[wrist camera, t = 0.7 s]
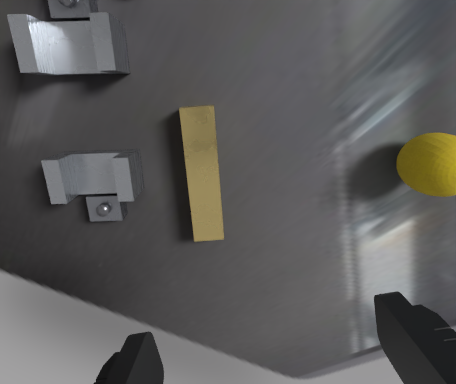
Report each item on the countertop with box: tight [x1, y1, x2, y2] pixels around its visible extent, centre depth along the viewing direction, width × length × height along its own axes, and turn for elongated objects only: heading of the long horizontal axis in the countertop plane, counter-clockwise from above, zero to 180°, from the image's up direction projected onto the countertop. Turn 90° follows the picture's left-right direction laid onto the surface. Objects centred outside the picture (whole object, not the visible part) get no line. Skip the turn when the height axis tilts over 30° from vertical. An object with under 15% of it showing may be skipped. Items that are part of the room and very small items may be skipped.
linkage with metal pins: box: [7, 0, 144, 221], centre depth 26 cm, size 7×21×4 cm, turn 2°
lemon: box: [396, 133, 456, 197], centre depth 26 cm, size 6×6×8 cm
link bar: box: [179, 105, 224, 242], centre depth 29 cm, size 3×13×3 cm, turn 4°
